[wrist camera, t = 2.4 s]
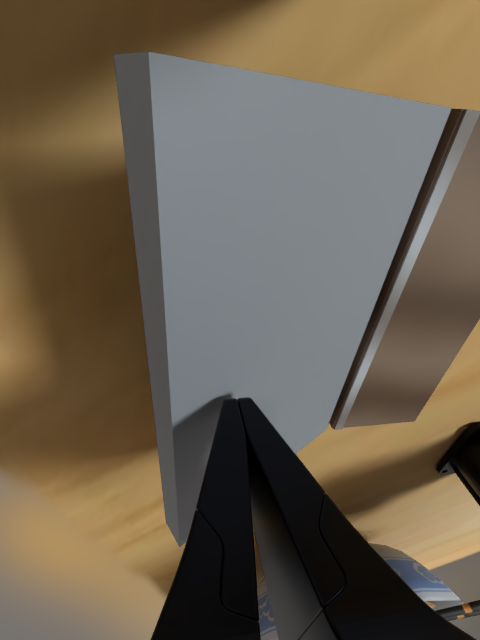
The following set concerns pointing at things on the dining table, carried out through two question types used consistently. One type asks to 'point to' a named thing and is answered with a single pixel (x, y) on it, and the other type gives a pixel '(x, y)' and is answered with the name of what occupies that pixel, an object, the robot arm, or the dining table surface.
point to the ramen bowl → (410, 572)
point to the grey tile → (258, 242)
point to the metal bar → (423, 290)
